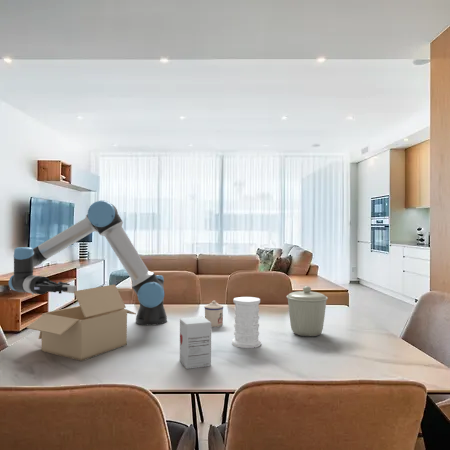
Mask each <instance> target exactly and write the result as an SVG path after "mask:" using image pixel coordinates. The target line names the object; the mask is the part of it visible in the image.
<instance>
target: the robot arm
mask: <svg viewBox="0 0 450 450" xmlns="http://www.w3.org/2000/svg"><path fill="white" fill-rule="evenodd" d="M120 216H121V215H119V213H118V209H117V207H116V205H114V204H112V202H110V201H107V200H98V201H94V202H93V203H92V204H91V205H90V206H89V208H88V210H87V214H86V215H85V217H84V218H83V219H82V220H80V221H78V222H76V223H75V224H73V225H71V226H70V227H68V228H66V229H65V230H63V231H61V232H59V233H57V234H56V235H54V236H52V237H51V238H49V239H47V240H45V241H44V242H42V243H41V244H39V245H37V246H35V247H30V246H29V247H25V246H24V247H23V246H22V247H21V246H20V247H16V248H14V251H13V274H12V275H11V276H10V277H9V280H8V287H9V288H10V289H11V290H12V291H15V292H18V293H27V294H31V295H46V294H47V293H58V294H60V295H61V294H62V293H69V294H74V291H77V285H71V284H70V283H69V282H63V281H61V280H60V281H58V282H56V281H53V280H50V279H49V277H46V276H40V275H34V267H36V266H39V265H41V264H42V263H43V262H45V261H46V260H49V259H50V258H51V257H53V256H55V255H56V254H58V253H60V252H62V251H63V250H65V249H67V248H68V247H70V246H72V245H73V244H75V243H77V242H79V241H81V240H82V239H83V238H85V237H87V236H89V235H90V234H92V233H94V232H97V233H98V234H99V235H100V236H103V237H105V239H106V241H107V242H108V243H109V246H110V247H111V248H112V250H113V252H114V253H115V255H116V256H117V258H118V260H119V261H120V263H121V265H122V266H123V268H124V269H125V272H126V273H127V274H128V276H129V278H130V279H131V287H132V289H133V291H134V292H135V294H136V295H137V300H138V302H139V308H138V311H137V313H136V316H135V323H136V324H137V325H142V326H156V325H157V326H158V325H162V324H165V323H167V322H168V315H167V312H166V310H165V307H164V298H165V289H164V284H165V283H164V282H165V279H164V275H158V274H157V275H156V274H155V272H153V271H150V270H149V268H148V267H147V265H146V263H145V262H144V261H143V259H142V258H141V256H140V254H139V253H138V251H137V249H136V247H135V245H134V244H133V243H132V241H131V240H130V237H129V236H128V234H127V233H126V231H125V229H124V228H123V223H124V221H123V219H122V218H121V217H120Z"/></svg>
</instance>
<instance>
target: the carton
mask: <svg viewBox="0 0 450 450" xmlns="http://www.w3.org/2000/svg"><path fill="white" fill-rule="evenodd" d="M128 314H130V315H136V316H137V313H136V312H134V311H131V310H129V309H126V308H123V309H119V310H115V311H111V312H107V313H103V314H99V315H94V316H90V317H86V318H85V317H84V314H83V312H82V310H81V307H80V305H76V306H70V307H65V308H61V309H56V310H52V311H48V312H47V311H46V312H44V313H41V316H40V317H38V318H37V319H36V320H34V321H33V322H31V323H30V324H29V325H28V326H26V328H27V329H30V330H34V331H38V332H39V335H38V340H41V346H40V347H41V350H40V351H41V352H44V353H48V354H51V355H57V356H60V357H64V358H67V359H71V360H76V361H79V362H83V361H86V360H88V359H91V358H95V357H97V356H99V355H103V354H106V353H108V352H111V351H113V350H116V349H118V348H122V347H124V346H127V344H128V341H127V340H128Z"/></svg>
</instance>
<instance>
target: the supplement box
mask: <svg viewBox="0 0 450 450" xmlns="http://www.w3.org/2000/svg"><path fill="white" fill-rule="evenodd" d="M179 362H180V363H181V364H182V366H183V367H184V368H185V369H186V370H189V369H195V368H197V367H198V368H203V367H204V366H205V367H211V366H212V327H211V322H210V321H208V320H207V319H205V316H196V317H182V318H180V319H179ZM205 367H204V368H205Z"/></svg>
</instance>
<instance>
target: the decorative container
mask: <svg viewBox="0 0 450 450" xmlns="http://www.w3.org/2000/svg"><path fill="white" fill-rule="evenodd" d="M232 302H233V304H234V309H233V310H234V316H233V318H234V324H233V326H234V331H233V335H234V338H232V340H231V341H232V344H231V345H232V346H234V347H236V348H240V349H241V348H242V349H254V347H255V348H259V347H260V346H261V345H262V341H261V339H260V338H259V336H260V331H259V328H260V323H259V320H260V315H259V312H260V307H259V305H260V303H261V298H259V297H254V296H240V297H239V296H238V297H234V298H233V301H232Z"/></svg>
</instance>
